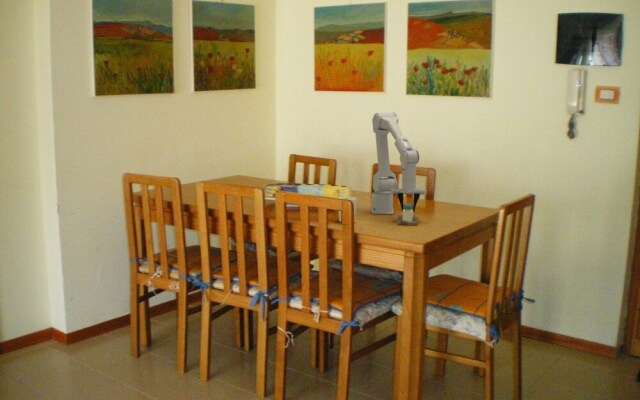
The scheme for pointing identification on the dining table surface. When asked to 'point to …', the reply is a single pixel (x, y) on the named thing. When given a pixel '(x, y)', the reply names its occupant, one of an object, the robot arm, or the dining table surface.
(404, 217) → the block
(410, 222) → the mounting board
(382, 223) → the dining table surface
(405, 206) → the block
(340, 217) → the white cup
